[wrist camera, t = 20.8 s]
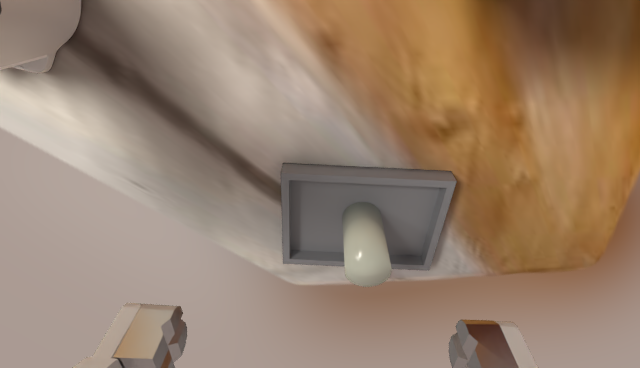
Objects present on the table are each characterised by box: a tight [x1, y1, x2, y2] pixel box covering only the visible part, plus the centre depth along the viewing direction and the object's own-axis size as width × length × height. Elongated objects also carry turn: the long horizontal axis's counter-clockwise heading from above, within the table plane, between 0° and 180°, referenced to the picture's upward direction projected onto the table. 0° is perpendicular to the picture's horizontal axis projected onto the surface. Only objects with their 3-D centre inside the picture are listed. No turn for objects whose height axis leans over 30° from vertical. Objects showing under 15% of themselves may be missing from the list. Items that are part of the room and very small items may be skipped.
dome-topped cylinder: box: [342, 202, 392, 287], centre depth 45 cm, size 6×6×10 cm
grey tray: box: [281, 163, 457, 270], centre depth 49 cm, size 22×16×2 cm
